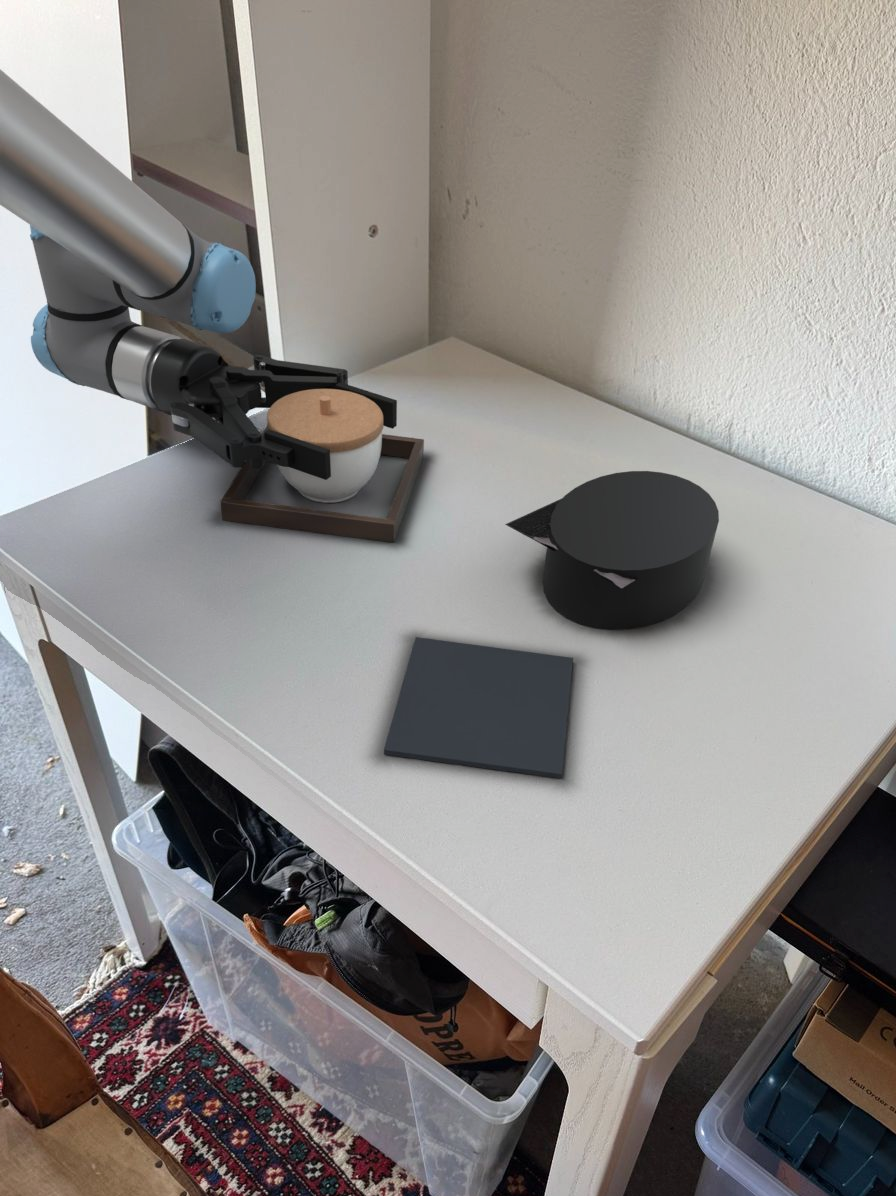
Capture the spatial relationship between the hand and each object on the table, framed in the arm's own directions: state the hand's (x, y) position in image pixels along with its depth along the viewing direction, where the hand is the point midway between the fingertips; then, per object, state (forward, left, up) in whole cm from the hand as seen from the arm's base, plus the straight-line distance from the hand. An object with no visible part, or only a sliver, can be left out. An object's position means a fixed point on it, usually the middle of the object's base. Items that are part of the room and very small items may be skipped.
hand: (362, 438), depth 94 cm
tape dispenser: (+25, -7, -7) cm, 27 cm away
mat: (+15, -27, -7) cm, 31 cm away
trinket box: (-4, +1, -7) cm, 8 cm away
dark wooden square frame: (-4, +1, -7) cm, 8 cm away
